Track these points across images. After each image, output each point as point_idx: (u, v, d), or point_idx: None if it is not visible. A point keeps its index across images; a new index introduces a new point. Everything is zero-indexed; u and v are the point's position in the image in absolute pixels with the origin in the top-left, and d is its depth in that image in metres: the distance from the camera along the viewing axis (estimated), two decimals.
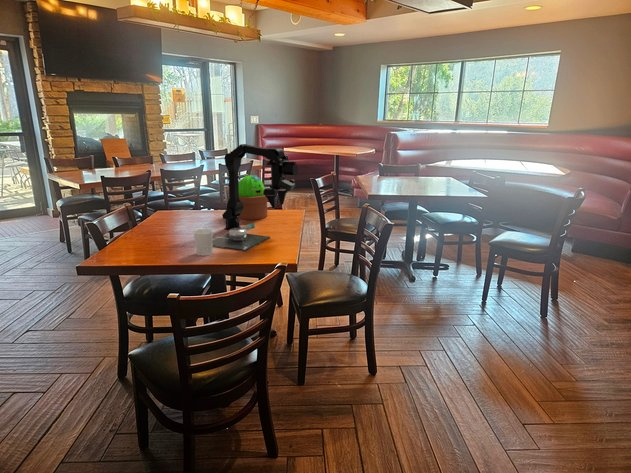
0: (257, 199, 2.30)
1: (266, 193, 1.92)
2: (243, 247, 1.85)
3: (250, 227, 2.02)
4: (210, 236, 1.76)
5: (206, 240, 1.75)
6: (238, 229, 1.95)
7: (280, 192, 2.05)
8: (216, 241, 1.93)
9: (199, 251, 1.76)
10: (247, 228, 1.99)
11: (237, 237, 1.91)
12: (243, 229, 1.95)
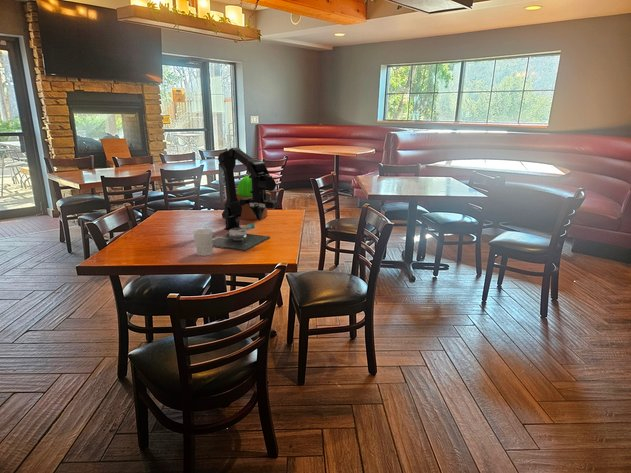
0: None
1: (274, 206, 1.91)
2: (243, 247, 1.85)
3: (250, 227, 2.02)
4: (210, 236, 1.76)
5: (206, 240, 1.75)
6: (238, 229, 1.95)
7: (256, 208, 1.96)
8: (216, 241, 1.93)
9: (199, 251, 1.76)
10: (247, 228, 1.99)
11: (237, 237, 1.91)
12: (243, 229, 1.95)
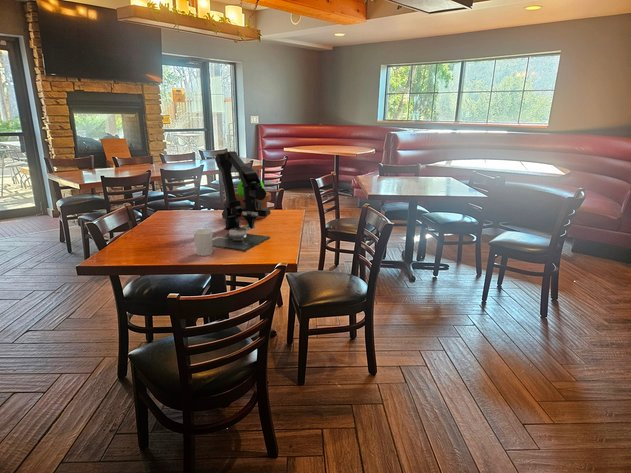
0: None
1: (267, 214, 1.95)
2: (243, 247, 1.85)
3: None
4: (210, 236, 1.76)
5: (206, 240, 1.75)
6: (238, 229, 1.95)
7: None
8: (216, 241, 1.93)
9: (199, 251, 1.76)
10: (247, 228, 1.99)
11: (237, 237, 1.91)
12: (243, 229, 1.95)
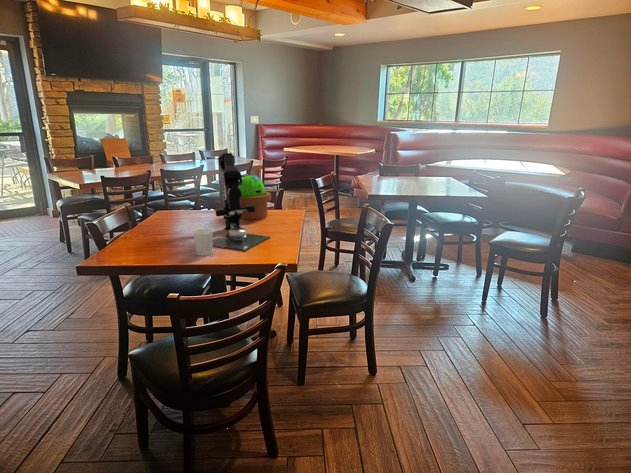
0: (257, 199, 2.30)
1: None
2: (243, 247, 1.85)
3: None
4: (210, 236, 1.76)
5: (206, 240, 1.75)
6: (236, 229, 1.94)
7: (235, 215, 2.00)
8: (216, 241, 1.93)
9: (199, 251, 1.76)
10: None
11: (243, 236, 1.92)
12: (241, 228, 1.96)
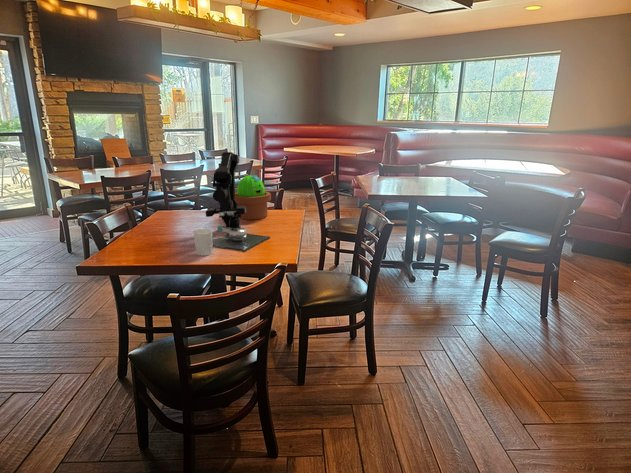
0: (257, 199, 2.30)
1: (245, 211, 1.97)
2: (243, 247, 1.85)
3: None
4: (210, 236, 1.76)
5: (206, 240, 1.75)
6: (236, 229, 1.94)
7: (226, 216, 1.97)
8: (216, 241, 1.93)
9: (199, 251, 1.76)
10: None
11: (246, 235, 1.94)
12: (238, 228, 1.96)
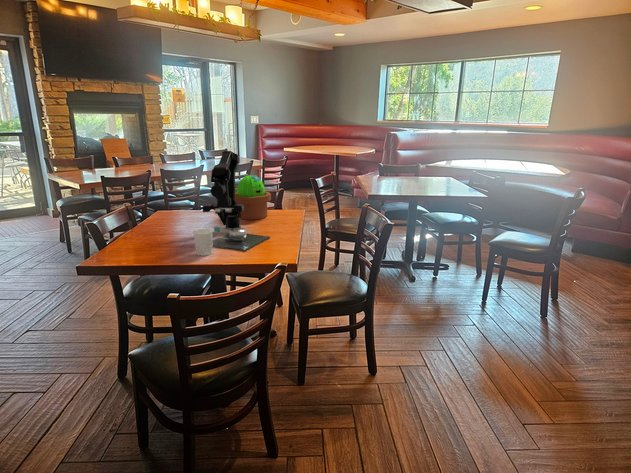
0: (257, 199, 2.30)
1: (242, 209, 1.96)
2: (243, 247, 1.85)
3: None
4: (210, 236, 1.76)
5: (206, 240, 1.75)
6: (235, 229, 1.94)
7: (222, 213, 1.96)
8: (216, 241, 1.93)
9: (199, 251, 1.76)
10: None
11: (246, 234, 1.95)
12: (237, 228, 1.96)
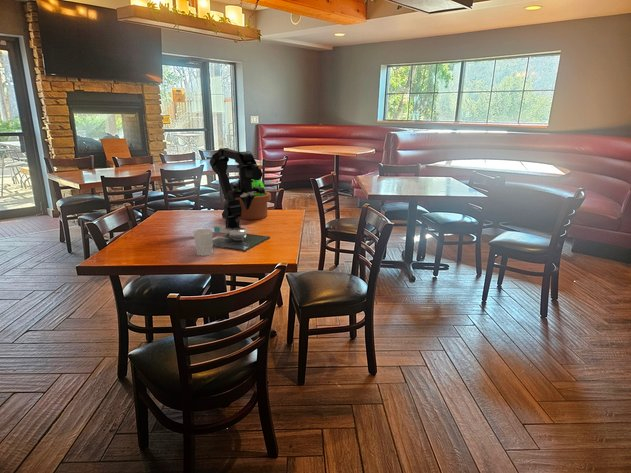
0: (257, 199, 2.30)
1: None
2: (243, 247, 1.85)
3: None
4: (210, 236, 1.76)
5: (206, 240, 1.75)
6: (235, 229, 1.94)
7: None
8: (216, 241, 1.93)
9: (199, 251, 1.76)
10: None
11: (246, 234, 1.95)
12: (237, 228, 1.96)
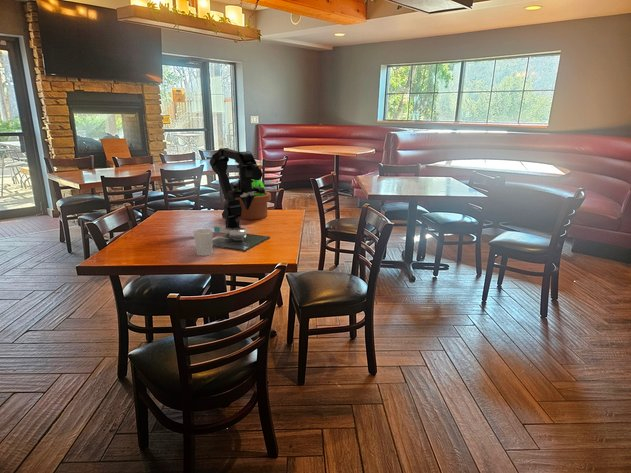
0: (257, 199, 2.30)
1: None
2: (243, 247, 1.85)
3: None
4: (210, 236, 1.76)
5: (206, 240, 1.75)
6: (235, 229, 1.94)
7: None
8: (216, 241, 1.93)
9: (199, 251, 1.76)
10: None
11: (246, 234, 1.95)
12: (237, 228, 1.96)
